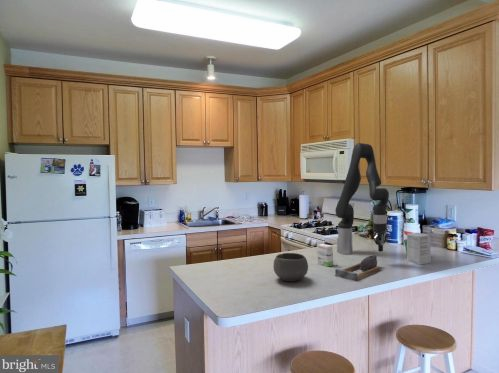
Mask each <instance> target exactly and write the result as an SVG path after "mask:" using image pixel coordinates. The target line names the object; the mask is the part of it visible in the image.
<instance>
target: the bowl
mask: <svg viewBox="0 0 499 373" xmlns="http://www.w3.org/2000/svg"><path fill="white" fill-rule="evenodd" d="M308 270H309V263H308V260H307V258H306V256H305V255H303V254H301V253H297V252H296V253H295V252H285V253H280V254H277V255H276V256H275V258H274V260H273V271H274V274H275V275H276V276H277V277H278V278H279V279H281V280H283V281H285V282H297V281H300V280H302V279H303V278H305V277H306V276H307V273H308Z"/></svg>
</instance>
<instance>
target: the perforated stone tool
mask: <svg viewBox="0 0 499 373" xmlns="http://www.w3.org/2000/svg"><path fill="white" fill-rule="evenodd" d="M377 256H378V255H375V254H373V255H369V256H366V257H365V258H363V259H362V260H361V262H359V263H360V268H359V269H360V270H362V271H368V270H370V269H372V268H375V267H377V265H378V259H377Z"/></svg>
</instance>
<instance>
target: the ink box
mask: <svg viewBox="0 0 499 373" xmlns="http://www.w3.org/2000/svg"><path fill="white" fill-rule="evenodd" d="M316 246H317V248H316V249H317V250H316V251H317V253H316V254H317V264H318V263H319V264H318V265H321V264H322V265H321V266H324V265H325V267H331V266H334V255H333V254H334V250H333V248H334V247H333V245H330V244H326V243H320V244H319V243H318V244H317V245H316Z"/></svg>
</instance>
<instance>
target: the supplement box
mask: <svg viewBox="0 0 499 373" xmlns="http://www.w3.org/2000/svg"><path fill="white" fill-rule="evenodd" d="M406 239H407V254H406V260H407V261H406V262H409V263H412V264H416V265H419V266H420V265H425V264H431V257H432V256H431V253H432V252H431V234H427V233H423V232H422V233H421V232H413V233H407V234H406Z"/></svg>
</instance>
